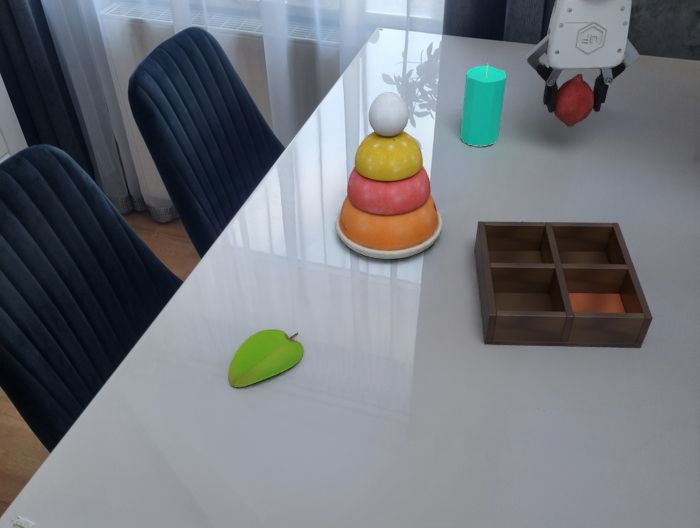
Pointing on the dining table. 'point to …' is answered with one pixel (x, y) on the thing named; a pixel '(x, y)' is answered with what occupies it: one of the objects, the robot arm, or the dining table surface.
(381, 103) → the stacking toy
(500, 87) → the candle
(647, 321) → the grid
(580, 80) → the onion
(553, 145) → the dining table surface
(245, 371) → the decorative leaf
